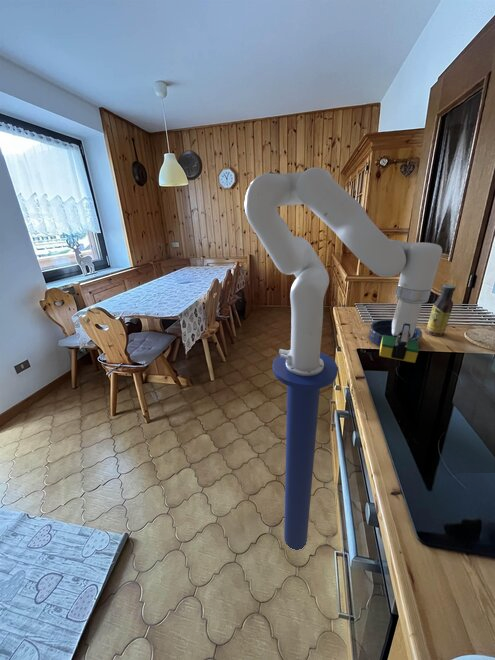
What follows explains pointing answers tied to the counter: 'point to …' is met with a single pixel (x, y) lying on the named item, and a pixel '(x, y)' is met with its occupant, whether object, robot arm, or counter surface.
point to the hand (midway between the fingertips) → (397, 351)
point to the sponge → (389, 343)
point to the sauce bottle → (441, 311)
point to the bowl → (388, 332)
